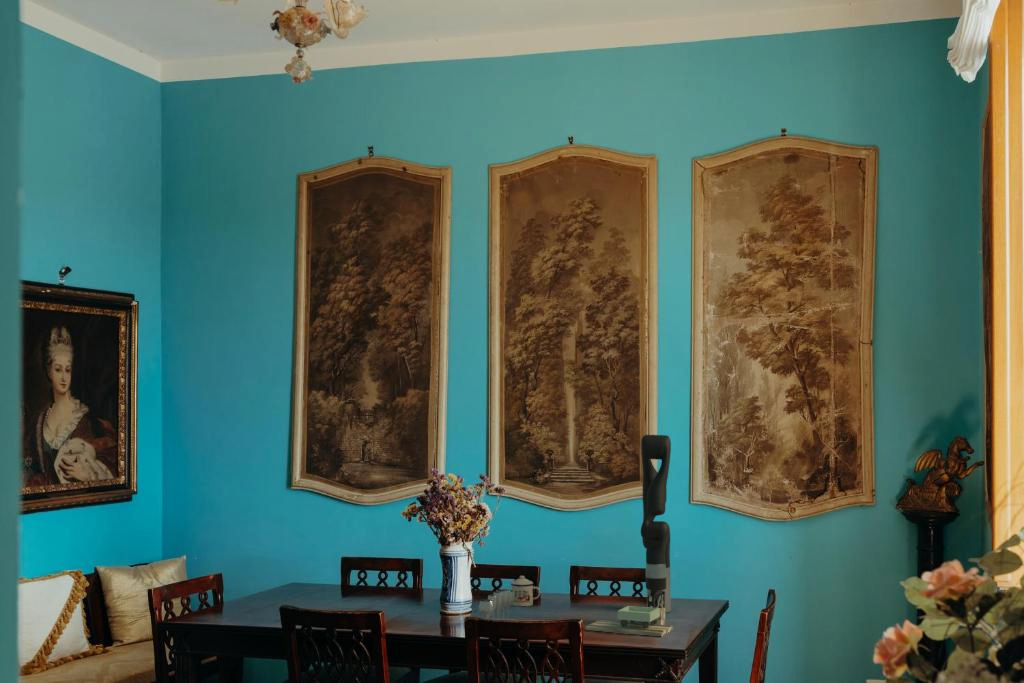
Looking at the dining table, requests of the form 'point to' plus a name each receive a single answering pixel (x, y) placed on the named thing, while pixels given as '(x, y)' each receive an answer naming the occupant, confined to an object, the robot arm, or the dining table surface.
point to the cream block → (661, 617)
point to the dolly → (638, 615)
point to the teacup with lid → (523, 592)
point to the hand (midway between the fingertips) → (656, 622)
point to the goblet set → (497, 603)
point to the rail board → (629, 628)
